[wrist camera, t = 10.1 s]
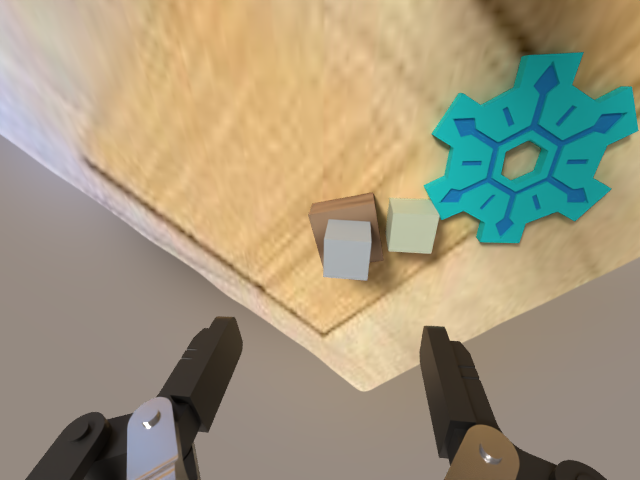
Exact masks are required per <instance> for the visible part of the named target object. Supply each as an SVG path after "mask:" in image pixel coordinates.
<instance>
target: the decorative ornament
mask: <svg viewBox="0 0 640 480" xmlns="http://www.w3.org/2000/svg"><path fill="white" fill-rule="evenodd" d="M583 53H584V52H579V53H560V54H541V55H527V56H522V57H521V61H520V65H519V68H518V72H517V76H516V80H515V83H514V87H513V88H511V89H510V90H508V91H506V92H504V93H502V94H500V95H498V96H497V97H495V98H493V99H491V100H489V101H487V102H485V103H484V104H482V105H480V104H478V103H477V102H475V101H474V100H472V99H471V98H469V97H468V96H466V95H465V94H463V93H459V94H458V95H457V97H456V98H455V100H454V101H453V103H452V104H451V106H450V107H449V109H448V110H447V112H446V113H445V115H444V116H443V118H442V119H441V121H440V122H439V124H438V125H437V127H436V128H435V130H434V131H433V133H432V135H434V136H435V137H437V138H439V139H440V140H442V141H443V142H445V143H447V144H448V145H450V150H449V155H448V160H447V165H446V170H445V175H444V176H443V177H440V178H438V179H436V180H434V181H432V182H430V183H428V184H426V185H424V187H425V189H426V191H427V193H428V195H429V197H430V199H431V201H432V203H433V205H434V207H435V208H436V210H437V212H438V213H439V215H440V216H439V217H440V219H441V220H443V219H445V218H448V217H450V216H453V215H455V214H457V213H460V212H462V211H465V212H466V213H468V214H470V215H472V216H474V217H475V218H477V219H479V220H480V224H479V228H478V232H477V236H476V237H477V239H478V240H479V241H480V242H493V243H519V242H520V239H521V236H522V233H523V230H524V227H525V224H526V223H528V222H531V221H534V220H536V219H539V218H542V217H544V216H547V215H550V214H552V213H555V212H559V213H561V214H563V215H564V216H566V217H568V218H570V219H571V220H573V221H576V220H577V219H578V218H579V217H580V216H582V215H583V214H584V213H585V212H586V211H587V210H588V209H590V208H591V207H592V206H593V205H594V204H595V203H596V202H598V201H599V200H600V199H601V198H602V197H603V196H604V195H605V194H607V193H608V192H609V191H610V190H611V188H609V187H608V186H606V185H604V184H603V183H601V182H599V181H597V180H596V179H594V178H593V177H594V174H595V172H596V170H597V168H598V165H599V163H600V161H601V159H602V156H603V154H604V152H605V150H606V147H607V145H609V144H611V143H614V142H616V141H618V140H620V139H622V138H624V137H626V136H629V135H631V134H633V133H635V132H637V131H638V125H637V118H636V111H635V104H634V97H633V90H632V87H624V86H621V87H619V88H617V89H615V90H613V91H611V92H609V93H607V94H605V95H603V96H601V97H599V98H597V99H595V100H593V99H592V98H590V97H589V96H588V95H586V94H585V93H583V92H582V91H580V90H579V89H577V88H576V87H574V86H573V85H572V84H573V81H574V78H575V75H576V72H577V70H578V67H579V64H580V61H581V58H582V55H583ZM528 140H529V141H531V142H532V143H534V144H535V145H537V146H539V147H540V148H541V151H540V154H539V157H538V160H537V162H536V165H535V168H534V170H533V171H532V172H529V173H527V174H525V175H522V176H520V177H518V178H516V179H513V180H509V179H507V178H506V177H504V176H503V175H501V172H502V167H503V162H504V158H505V153H506V151H508V150H510V149H512V148H514V147H516V146H518V145H520V144H522V143H524V142H526V141H528Z"/></svg>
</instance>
